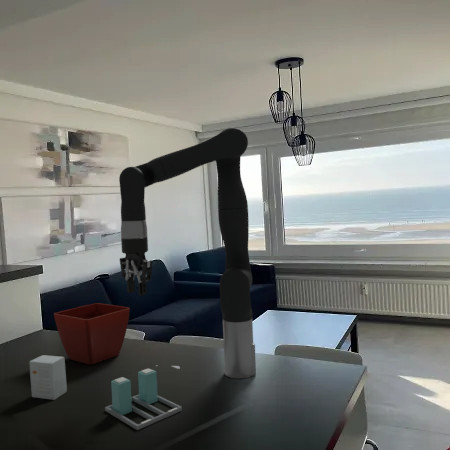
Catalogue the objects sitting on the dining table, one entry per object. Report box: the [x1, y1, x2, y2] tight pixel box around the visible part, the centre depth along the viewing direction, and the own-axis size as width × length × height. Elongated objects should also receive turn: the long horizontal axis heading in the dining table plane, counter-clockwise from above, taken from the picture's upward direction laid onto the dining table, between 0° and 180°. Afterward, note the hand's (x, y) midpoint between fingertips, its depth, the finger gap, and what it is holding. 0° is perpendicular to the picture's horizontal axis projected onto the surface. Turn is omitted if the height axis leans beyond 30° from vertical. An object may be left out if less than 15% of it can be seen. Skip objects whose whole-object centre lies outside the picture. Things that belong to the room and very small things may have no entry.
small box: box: [29, 354, 68, 401], centre depth 130 cm, size 8×6×10 cm
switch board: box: [104, 393, 183, 431], centre depth 116 cm, size 15×14×2 cm
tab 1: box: [110, 376, 133, 416], centre depth 115 cm, size 4×4×8 cm
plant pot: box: [53, 302, 131, 366], centre depth 161 cm, size 19×19×17 cm
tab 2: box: [137, 368, 159, 405], centre depth 121 cm, size 4×4×8 cm
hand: (137, 293), depth 133 cm, fingers open, 5 cm apart
